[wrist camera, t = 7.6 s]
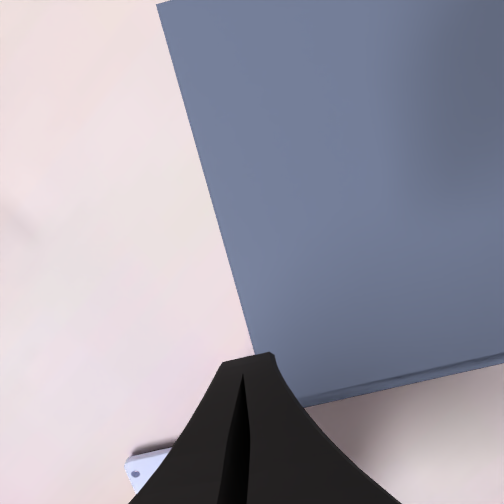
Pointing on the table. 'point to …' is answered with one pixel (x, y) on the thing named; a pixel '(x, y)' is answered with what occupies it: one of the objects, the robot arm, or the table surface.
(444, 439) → the table surface
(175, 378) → the table surface
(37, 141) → the table surface
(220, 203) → the book
